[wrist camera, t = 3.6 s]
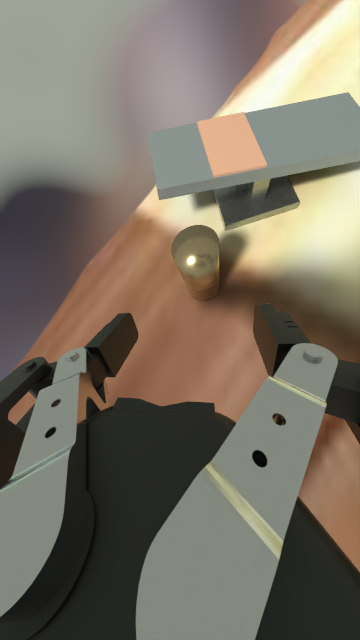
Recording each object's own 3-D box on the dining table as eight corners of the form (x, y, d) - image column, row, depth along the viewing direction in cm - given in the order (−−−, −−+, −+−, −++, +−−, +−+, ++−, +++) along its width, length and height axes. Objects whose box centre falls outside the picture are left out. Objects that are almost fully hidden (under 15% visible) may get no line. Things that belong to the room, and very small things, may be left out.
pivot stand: (269, 150, 26) (279, 108, 21) (296, 208, 23) (314, 172, 18) (207, 174, 28) (205, 140, 23) (224, 230, 24) (226, 203, 20)
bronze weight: (215, 269, 24) (212, 218, 15) (222, 296, 22) (224, 258, 14) (186, 277, 24) (168, 233, 16) (191, 304, 23) (175, 272, 15)
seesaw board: (339, 106, 22) (349, 89, 20) (376, 157, 19) (390, 142, 18) (149, 144, 22) (146, 130, 21) (159, 200, 19) (156, 187, 18)
